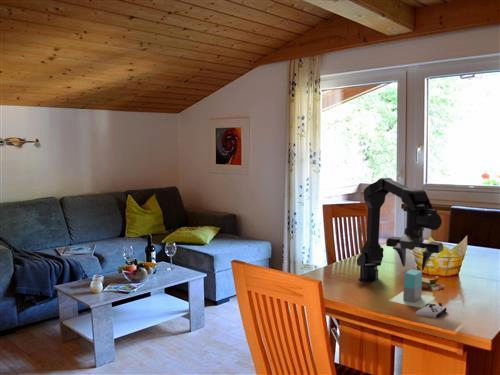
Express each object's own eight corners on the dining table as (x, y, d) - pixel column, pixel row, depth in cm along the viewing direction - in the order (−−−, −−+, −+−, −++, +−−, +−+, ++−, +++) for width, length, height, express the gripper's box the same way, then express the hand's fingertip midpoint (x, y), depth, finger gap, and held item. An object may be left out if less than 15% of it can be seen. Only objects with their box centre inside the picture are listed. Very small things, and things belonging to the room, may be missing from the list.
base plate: (388, 303, 170) (388, 300, 169) (403, 293, 180) (403, 290, 180) (422, 310, 162) (422, 308, 162) (435, 300, 173) (435, 297, 173)
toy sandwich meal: (444, 296, 178) (445, 284, 177) (407, 292, 183) (407, 280, 183) (445, 286, 189) (445, 275, 189) (409, 283, 194) (410, 271, 194)
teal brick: (403, 286, 169) (404, 273, 169) (410, 282, 175) (411, 269, 174) (414, 289, 167) (415, 275, 166) (421, 284, 172) (422, 270, 172)
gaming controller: (425, 305, 165) (440, 294, 161) (437, 320, 163) (453, 310, 159) (412, 314, 157) (428, 303, 153) (425, 330, 154) (441, 319, 151)
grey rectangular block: (403, 300, 170) (403, 286, 169) (410, 295, 175) (410, 282, 174) (414, 302, 167) (414, 289, 167) (421, 297, 172) (421, 284, 172)
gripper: (380, 225, 168) (379, 268, 169) (434, 231, 156) (432, 277, 158) (392, 221, 177) (391, 262, 178) (444, 226, 165) (442, 270, 166)
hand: (413, 268), depth 170 cm, fingers open, 7 cm apart
